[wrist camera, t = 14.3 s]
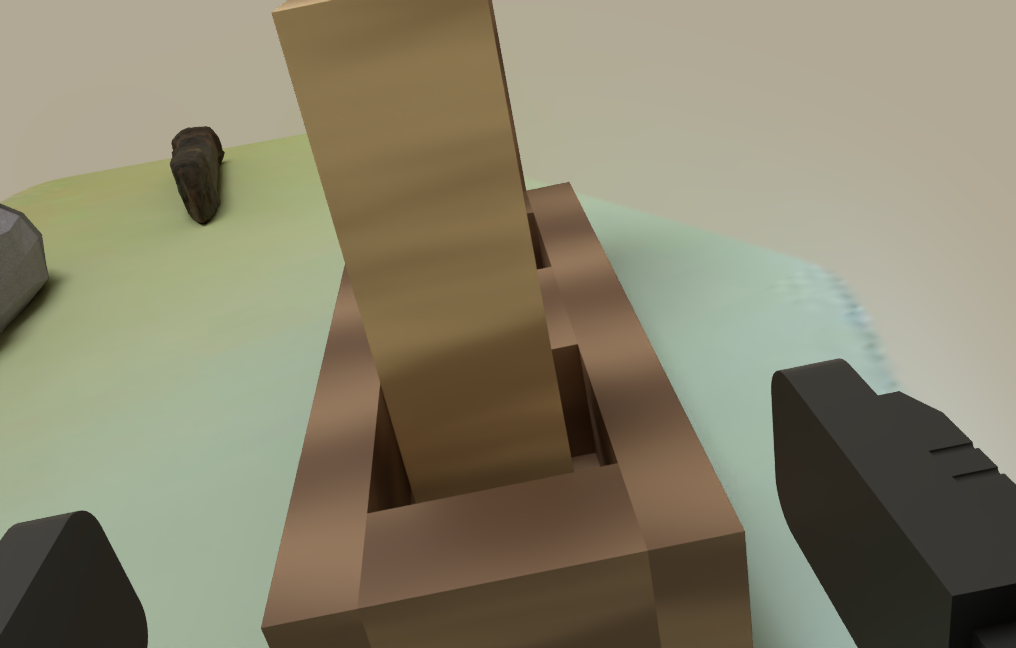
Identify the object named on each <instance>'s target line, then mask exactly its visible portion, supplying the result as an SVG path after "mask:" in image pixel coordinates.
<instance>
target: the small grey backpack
mask: <svg viewBox="0 0 1016 648" xmlns="http://www.w3.org/2000/svg"><path fill="white" fill-rule="evenodd" d="M48 279H49V276H48V271H47V266H46V260H45V253H44V246H43V238H42V234H41V233H40V232H39V230H38V229H37V228H36V227H35V226H34V225H33V224H32V223H31V221H30V220H29V219H28V218H27V217H26V216H25V215H24V213H22V212H20V211H17V210H15V209H12V208H10V207H7V206H5V205H2V204H0V333H1V332H2V331H3V330H4V329H5V328H6V327H7V326H8V325H9V324H10V323H11V322H12V321H13V320H14V319H15V318H16V317H17V316H18V315H19V314H20V313H21V312H22V311H23V310H24V309H25V307H26V306H27V305H28V304H29V302H30V301H31V300H32V299H33V297H34V296H35V295H36V294H37V292H38V291H39V290H40V289H41V287H42V286H43V285H44V284H45V282H46V281H47V280H48Z"/></svg>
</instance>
